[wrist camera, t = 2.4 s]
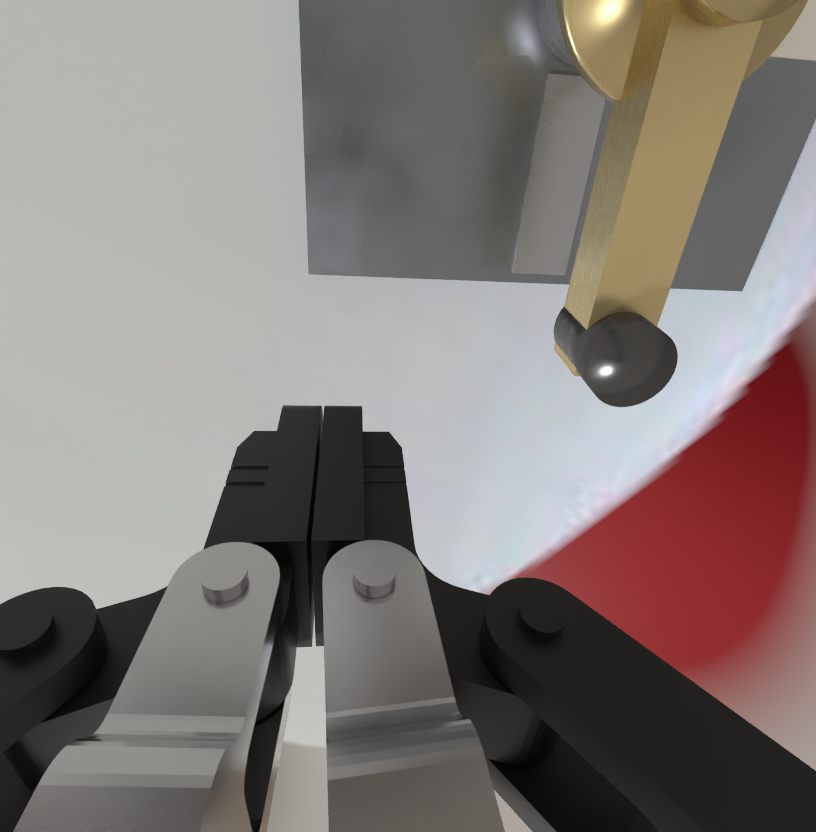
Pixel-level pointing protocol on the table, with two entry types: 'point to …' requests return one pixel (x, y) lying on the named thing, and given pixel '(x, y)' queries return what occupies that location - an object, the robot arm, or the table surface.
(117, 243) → the table surface
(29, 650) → the robot arm
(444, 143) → the lock base
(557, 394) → the table surface
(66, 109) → the table surface
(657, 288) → the brass lever handle
